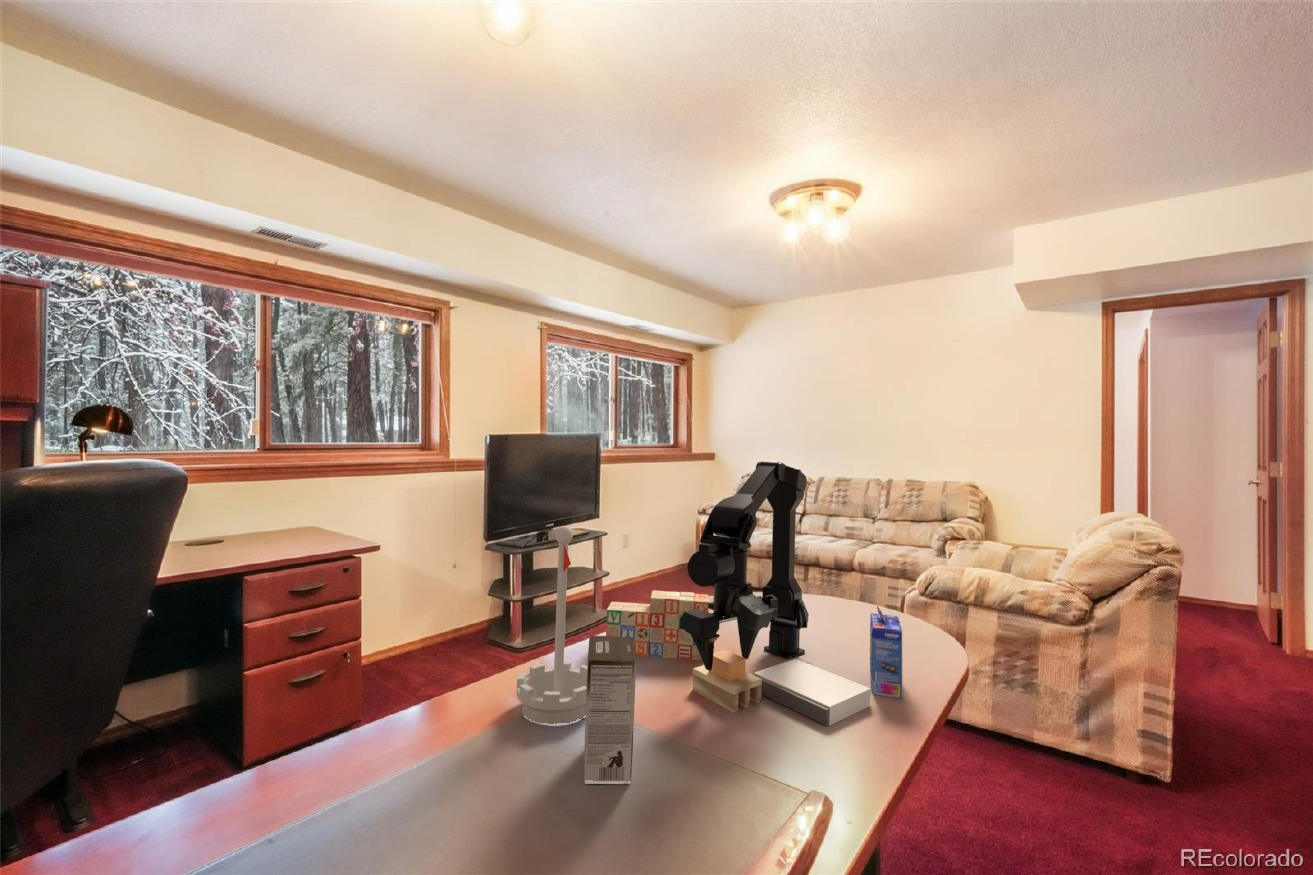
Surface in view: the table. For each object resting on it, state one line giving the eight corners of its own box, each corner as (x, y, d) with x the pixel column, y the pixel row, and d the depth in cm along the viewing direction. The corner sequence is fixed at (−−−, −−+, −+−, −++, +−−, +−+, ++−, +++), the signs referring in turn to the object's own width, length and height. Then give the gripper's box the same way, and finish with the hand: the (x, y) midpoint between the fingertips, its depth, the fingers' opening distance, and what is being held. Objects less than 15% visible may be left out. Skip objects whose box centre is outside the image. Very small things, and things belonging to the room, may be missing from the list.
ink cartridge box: (868, 673, 110) (870, 600, 111) (898, 678, 109) (900, 604, 109) (869, 694, 101) (872, 614, 101) (902, 699, 99) (905, 618, 100)
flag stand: (510, 698, 95) (517, 521, 95) (584, 687, 100) (590, 519, 100) (523, 736, 83) (531, 533, 83) (607, 721, 88) (614, 531, 88)
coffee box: (585, 747, 80) (589, 634, 80) (629, 747, 81) (633, 635, 81) (581, 786, 71) (586, 659, 71) (632, 785, 72) (637, 659, 72)
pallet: (720, 681, 105) (720, 660, 105) (761, 702, 97) (761, 678, 97) (692, 690, 100) (693, 668, 100) (732, 712, 92) (733, 688, 92)
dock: (794, 674, 109) (795, 658, 109) (870, 706, 96) (870, 688, 96) (750, 690, 101) (750, 673, 101) (826, 727, 88) (826, 708, 88)
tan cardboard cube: (724, 666, 102) (725, 649, 102) (745, 675, 98) (745, 658, 98) (708, 671, 99) (709, 654, 99) (729, 681, 95) (729, 663, 95)
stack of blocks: (604, 654, 116) (606, 594, 116) (609, 643, 123) (611, 587, 123) (707, 661, 114) (709, 601, 115) (707, 650, 121) (709, 593, 121)
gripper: (725, 593, 87) (722, 694, 87) (800, 579, 98) (797, 667, 98) (679, 578, 96) (676, 670, 95) (752, 566, 107) (750, 648, 107)
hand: (727, 664), depth 99 cm, fingers open, 9 cm apart
